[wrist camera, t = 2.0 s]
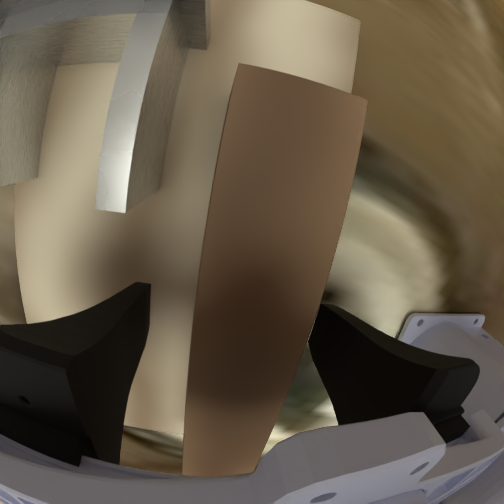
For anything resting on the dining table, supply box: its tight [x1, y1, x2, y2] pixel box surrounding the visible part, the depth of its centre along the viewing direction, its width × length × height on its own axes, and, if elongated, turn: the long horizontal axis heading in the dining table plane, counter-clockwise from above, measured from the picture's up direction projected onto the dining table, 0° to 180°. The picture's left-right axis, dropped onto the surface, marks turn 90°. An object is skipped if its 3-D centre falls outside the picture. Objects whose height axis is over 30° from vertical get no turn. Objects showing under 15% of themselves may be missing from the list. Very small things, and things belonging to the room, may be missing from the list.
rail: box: [183, 63, 368, 477], centre depth 10 cm, size 4×17×4 cm, turn 169°
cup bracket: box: [0, 0, 211, 213], centre depth 5 cm, size 8×6×7 cm
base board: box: [14, 0, 360, 434], centre depth 11 cm, size 14×24×1 cm, turn 169°
